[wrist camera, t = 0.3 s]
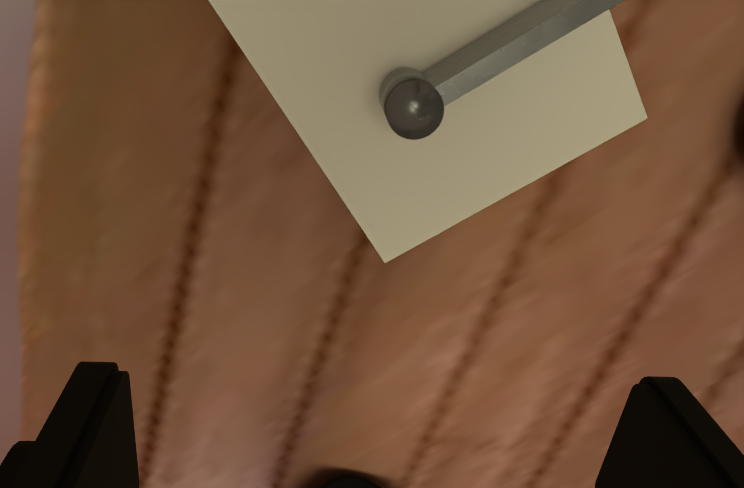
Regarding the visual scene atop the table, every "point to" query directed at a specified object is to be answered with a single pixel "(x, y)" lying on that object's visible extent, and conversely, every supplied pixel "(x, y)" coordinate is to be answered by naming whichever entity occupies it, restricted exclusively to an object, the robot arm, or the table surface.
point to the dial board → (461, 117)
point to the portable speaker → (349, 483)
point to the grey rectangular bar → (478, 64)
